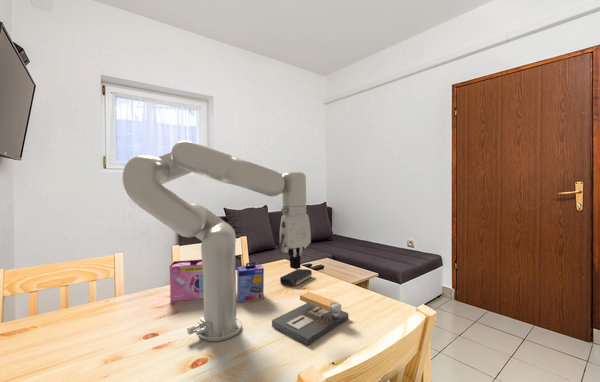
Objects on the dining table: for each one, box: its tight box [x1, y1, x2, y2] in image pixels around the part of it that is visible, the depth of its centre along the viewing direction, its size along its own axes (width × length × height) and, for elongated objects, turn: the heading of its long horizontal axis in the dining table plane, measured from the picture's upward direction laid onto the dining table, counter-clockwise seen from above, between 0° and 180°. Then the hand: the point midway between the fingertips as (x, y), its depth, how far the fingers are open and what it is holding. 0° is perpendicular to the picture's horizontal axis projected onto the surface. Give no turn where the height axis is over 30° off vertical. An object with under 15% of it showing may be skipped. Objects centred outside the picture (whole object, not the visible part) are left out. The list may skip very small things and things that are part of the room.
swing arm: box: [299, 291, 342, 313], centre depth 90 cm, size 4×15×2 cm, turn 47°
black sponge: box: [279, 268, 312, 287], centre depth 125 cm, size 16×8×4 cm, turn 147°
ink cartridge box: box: [236, 261, 265, 303], centre depth 106 cm, size 10×6×14 cm, turn 111°
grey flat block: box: [271, 302, 349, 347], centre depth 87 cm, size 20×15×4 cm
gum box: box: [168, 259, 203, 302], centre depth 109 cm, size 24×8×14 cm, turn 103°
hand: (295, 267), depth 87 cm, fingers closed
